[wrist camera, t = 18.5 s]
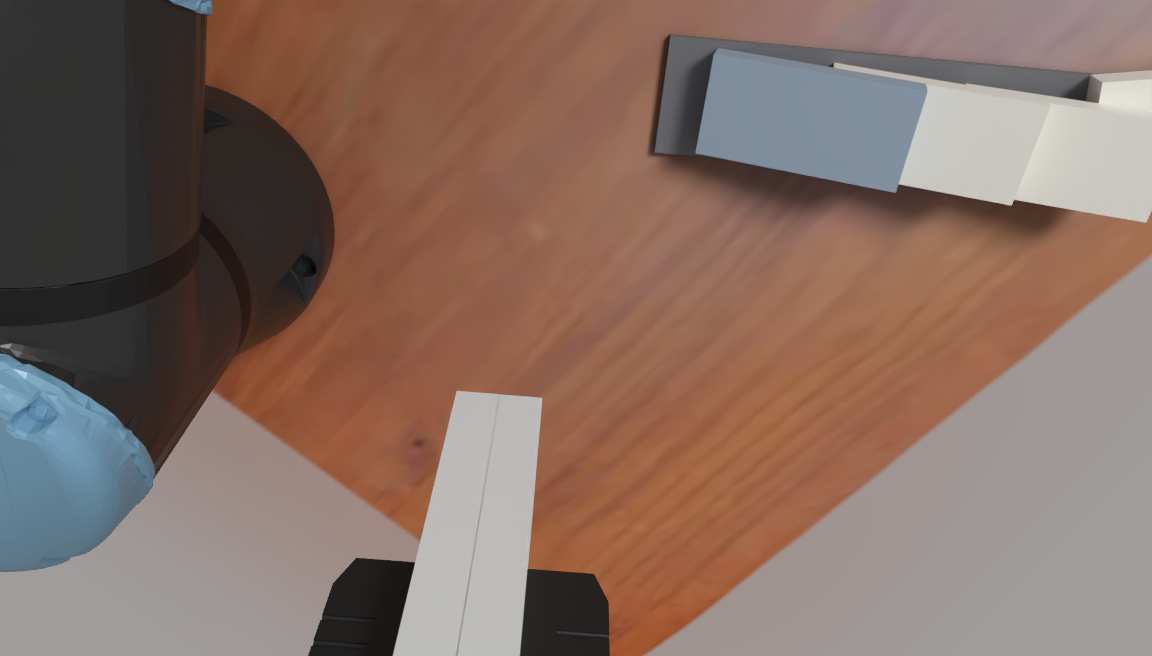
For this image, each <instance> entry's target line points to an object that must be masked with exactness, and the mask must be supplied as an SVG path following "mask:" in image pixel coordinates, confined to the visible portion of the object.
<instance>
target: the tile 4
mask: <svg viewBox="0 0 1152 656" xmlns="http://www.w3.org/2000/svg"><path fill="white" fill-rule="evenodd" d="M1086 102H1093V103H1100V104H1106V105H1113V106H1119V107H1126V108H1133V109H1139V110H1146V111H1152V70H1151V71H1137V72H1123V73H1109V74H1095V75H1090V79H1089V85H1088V90H1087V96H1086Z"/></svg>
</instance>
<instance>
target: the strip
mask: <svg viewBox="0 0 1152 656" xmlns="http://www.w3.org/2000/svg"><path fill="white" fill-rule="evenodd" d="M718 48H723V49H728V50H734V51H740V52H746V53H751V54H757V55H763V56H769V57H775V58H780V59H786V60H792V61H798V62H804V63H809V64H815V65H821V66H827V67H832V68H833V65H834V63H840V64H846V65H852V66H858V67H864V68H869V69H875V70H881V71H887V72H893V73H899V74H905V75H911V76H917V77H923V78H929V79H935V80H940V81H946V82H952V83H958V84H964V85H966V83H968V84H974V85H981V86H987V87H994V88H1001V89H1007V90H1014V91H1020V92H1027V93H1034V94H1040V95H1047V96H1053V97H1060V98H1067V99H1073V100H1080V101H1086V96H1087V90H1088V85H1089V79H1090V75H1095V74H1089V73H1079V72H1068V71H1057V70H1047V69H1036V68H1025V67H1014V66H1004V65H993V64H982V63H971V62H961V61H950V60H939V59H929V58H918V57H907V56H896V55H886V54H875V53H864V52H853V51H843V50H832V49H821V48H811V47H800V46H789V45H778V44H768V43H757V42H746V41H735V40H725V39H714V38H703V37H692V36H682V35H671V34H670V38H669V45H668V52H667V60H666V67H665V74H664V82H663V89H662V96H661V104H660V111H659V118H658V126H657V133H656V140H655V147H654V152H655V153H663V154H675V155H686V156H697V157H708V158H717V157H712V156H707V155H702V154H696V147H697V142H698V137H699V131H700V126H701V121H702V115H703V110H704V104H705V99H706V94H707V88H708V83H709V78H710V72H711V67H712V61H713V56H714V53H715V52H716V51H717V49H718ZM720 159H722V158H720Z"/></svg>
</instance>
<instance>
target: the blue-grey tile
mask: <svg viewBox="0 0 1152 656" xmlns="http://www.w3.org/2000/svg"><path fill="white" fill-rule="evenodd" d="M927 92H928V90H927V87H926V84H925V83H919V82H913V81H908V80H902V79H896V78H890V77H885V76H879V75H873V74H867V73H861V72H856V71H850V70H844V69H838V68H832V67H827V66H821V65H815V64H809V63H804V62H798V61H792V60H786V59H780V58H775V57H769V56H763V55H757V54H751V53H746V52H740V51H734V50H728V49H723V48H718V49H717V51H716V52H715V53H714V56H713V61H712V67H711V72H710V78H709V83H708V88H707V94H706V99H705V104H704V110H703V115H702V121H701V126H700V131H699V137H698V142H697V147H696V154H702V155H707V156H712V157H717V158H722V159H727V160H732V161H737V162H742V163H747V164H752V165H757V166H762V167H767V168H772V169H777V170H782V171H787V172H792V173H797V174H802V175H807V176H812V177H818V178H823V179H828V180H833V181H838V182H843V183H848V184H853V185H858V186H863V187H868V188H873V189H878V190H883V191H888V192H893V193H896V190H897V187H898V184H899V181H900V178H901V174H902V171H903V168H904V165H905V162H906V159H907V155H908V152H909V149H910V146H911V143H912V140H913V136H914V133H915V130H916V127H917V124H918V120H919V117H920V114H921V111H922V108H923V105H924V101H925V98H926V95H927Z"/></svg>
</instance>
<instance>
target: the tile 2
mask: <svg viewBox="0 0 1152 656" xmlns="http://www.w3.org/2000/svg"><path fill="white" fill-rule="evenodd" d="M833 68H838V69H844V70H850V71H856V72H861V73H867V74H873V75H879V76H885V77H890V78H896V79H902V80H908V81H913V82H919V83H925V84H926V87H927V90H928V92H927V95H926V98H925V101H924V105H923V108H922V111H921V114H920V117H919V120H918V124H917V127H916V130H915V133H914V136H913V140H912V143H911V146H910V149H909V152H908V155H907V159H906V162H905V165H904V168H903V171H902V174H901V178H900V181H899V184H900V185H905V186H911V187H916V188H921V189H926V190H932V191H937V192H942V193H947V194H953V195H958V196H963V197H968V198H974V199H979V200H984V201H989V202H995V203H1000V204H1005V205H1011V206H1012V204H1013V201H1014V198H1015V196H1016V193H1017V191H1018V188H1019V186H1020V183H1021V181H1022V178H1023V176H1024V173H1025V171H1026V168H1027V165H1028V163H1029V160H1030V158H1031V155H1032V153H1033V150H1034V148H1035V145H1036V143H1037V140H1038V138H1039V135H1040V132H1041V130H1042V127H1043V125H1044V122H1045V120H1046V117H1047V115H1048V112H1049V110H1050V107H1051V105H1050V104H1049V103H1048V102H1047V101H1046V100H1045V99H1044V98H1041V97H1035V96H1029V95H1023V94H1017V93H1011V92H1006V91H1000V90H994V89H988V88H982V87H976V86H970V85H964V84H958V83H952V82H946V81H940V80H935V79H929V78H923V77H917V76H911V75H905V74H899V73H893V72H887V71H881V70H875V69H869V68H864V67H858V66H852V65H846V64H840V63H834V65H833Z"/></svg>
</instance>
